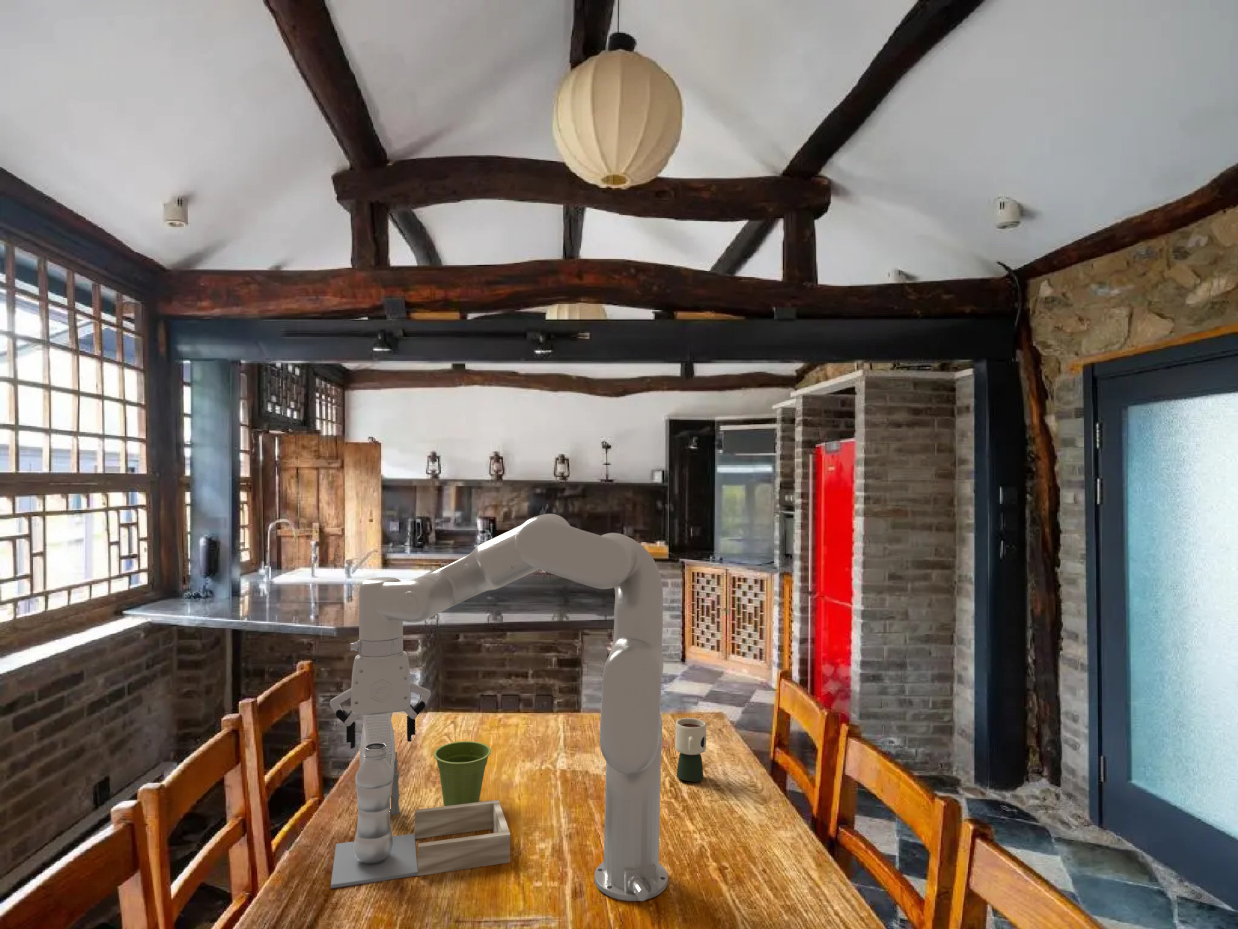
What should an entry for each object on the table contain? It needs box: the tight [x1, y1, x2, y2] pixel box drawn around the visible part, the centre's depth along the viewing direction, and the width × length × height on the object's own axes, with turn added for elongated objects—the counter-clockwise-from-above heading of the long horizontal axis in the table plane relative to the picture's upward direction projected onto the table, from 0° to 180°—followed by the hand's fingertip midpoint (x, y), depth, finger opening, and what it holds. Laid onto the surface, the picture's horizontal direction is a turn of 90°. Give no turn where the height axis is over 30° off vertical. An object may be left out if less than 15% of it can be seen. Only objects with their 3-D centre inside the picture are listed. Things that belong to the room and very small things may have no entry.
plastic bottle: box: [354, 743, 393, 864], centre depth 128 cm, size 6×7×20 cm
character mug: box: [674, 717, 707, 783], centre depth 166 cm, size 11×7×13 cm, turn 175°
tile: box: [330, 833, 418, 889], centre depth 129 cm, size 14×14×1 cm
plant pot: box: [433, 740, 492, 806], centre depth 151 cm, size 12×12×11 cm
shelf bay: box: [413, 799, 511, 877], centre depth 133 cm, size 14×16×5 cm
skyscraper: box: [359, 713, 401, 816], centre depth 149 cm, size 8×8×28 cm
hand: (381, 742), depth 129 cm, fingers open, 9 cm apart
